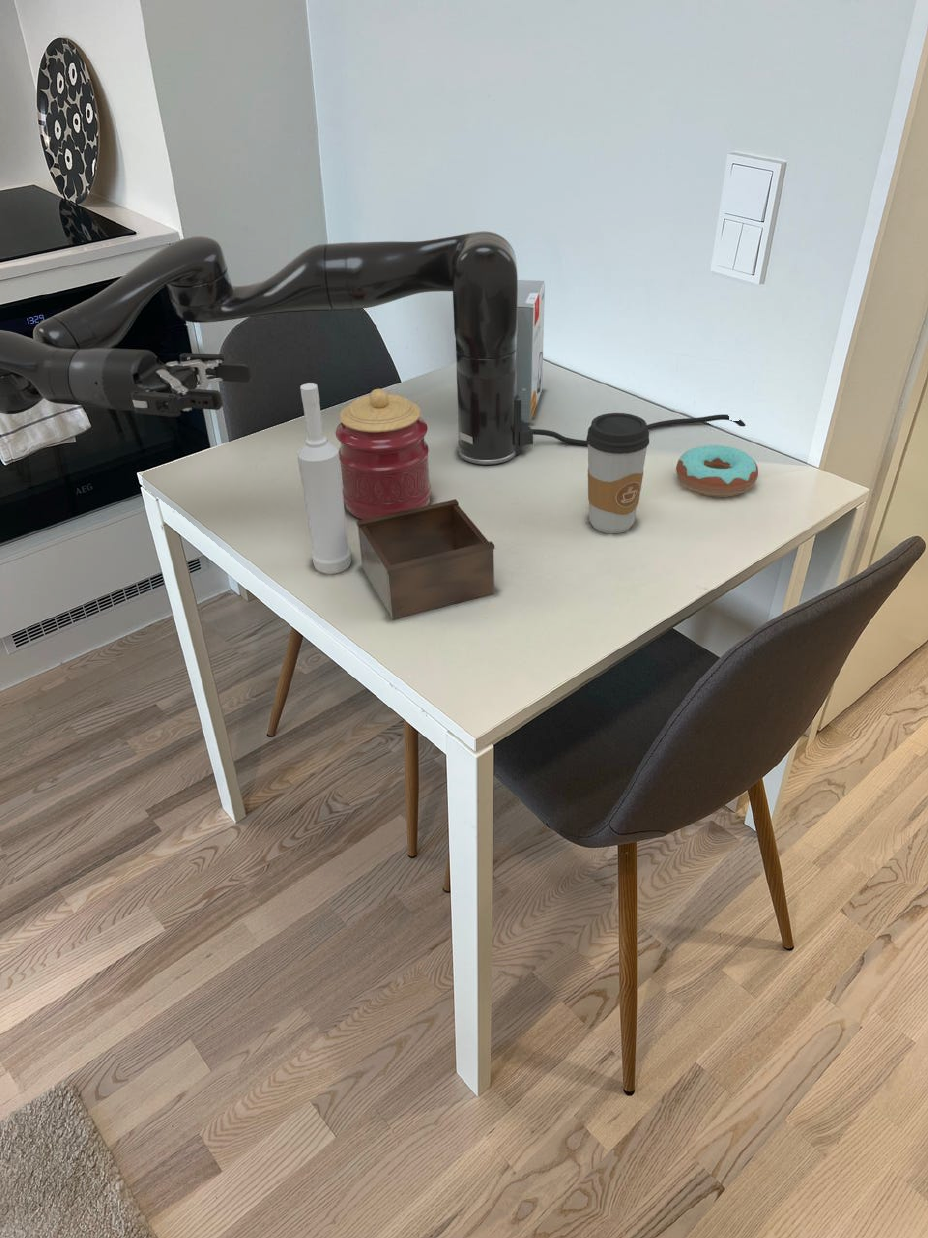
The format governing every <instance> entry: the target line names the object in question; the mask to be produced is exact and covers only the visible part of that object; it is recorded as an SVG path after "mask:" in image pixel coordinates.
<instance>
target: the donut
mask: <svg viewBox="0 0 928 1238" xmlns="http://www.w3.org/2000/svg"><path fill="white" fill-rule="evenodd" d="M675 471H676V475H677V479H678V481H679V482H680V483H681V485H683V486H684V487H685V488H687V489H688V490H690V491H693V492H695V493H697V494H700V495H704V496H708V497H719V498H725V497H732V496H737V495H740V494H743V493H745V492H747V491H749V490H750V489H751V488H752V487H753V486H754V484H755V483H756V481H757V480H758V477H759V467H758V464H757V462H756V461H755V459H754V458H753V457H752V456H751V455H750V454H748V453H747V452H746V451H743V450H741V449H738V448H735V447H732V446H727V445H721V444H707V445H699V446H696V447H693V448H690V449H688V450H686V451H685V452H684V453H683V454H682V455H681V456H680V457H679V458H678V460H677V463H676V467H675Z"/></svg>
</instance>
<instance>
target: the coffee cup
mask: <svg viewBox="0 0 928 1238" xmlns="http://www.w3.org/2000/svg"><path fill="white" fill-rule="evenodd" d="M647 425H648V424H647V421H646V420H645V419H643V417H640V416H637V415H635V414H632V413H627V412H626V413H625V412H609V413H604V414H600V415H597V416H596V417H594V418H593V419H592V420H591V423H590V426H589V427H588V429H587V435H586V440H585V441H587V443H588V446H587V500H588V520H589V522H590V524H591V527H593V529H595V530H597V531H599V532H601V533H606V534H622V533H624V532H627V531H629V530H630V529H631V528H632V527H633V525H634V523H635V521H636V516H637V509H638V505H639V501H640V495H641V490H642V483H643V477H644V469H645V468H644V467H645V463H646V462H645V461H646V456H647V449H648V446H649V445H650V430H648V429H647Z"/></svg>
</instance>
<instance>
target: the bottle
mask: <svg viewBox="0 0 928 1238" xmlns="http://www.w3.org/2000/svg"><path fill="white" fill-rule="evenodd" d="M299 389H300V396H301V402H302V407H303V414H304V421H305V428H306V429H305V430H306V436H307V437H306V438H305V440H304V444H303V445H302V446H301V447H299V449H298V450H297V452H296V457H297V463H298V469H299V470H298V471H299V475H300V476H299V477H300V481H301V488H302V492H303V498H304V504H305V510H306V516H307V522H308V528H309V533H310V539H311V545H312V553H311V557H312V562H313V566H314V568H315V569H316V571H318V572H319V573H322V574H328V575H333V574H339V573H342V572H344V571H346V570H347V569H348V568H349V567H350V565H351V562H352V554H351V553H352V551H351V549H350V547H349V542H348V533H347V522H346V512H345V511H346V510H345V502H344V499H343V481H342V473H341V464H340V459H339V447H338V446H336V445H334V444H333V443H332V442H330V441H329V440H328V438H327V436H325V434H324V427H323V421H322V412H321V406H320V395H319V387H318V384H317V383H313V382H307V383H303V384H301V385H300V388H299Z"/></svg>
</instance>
